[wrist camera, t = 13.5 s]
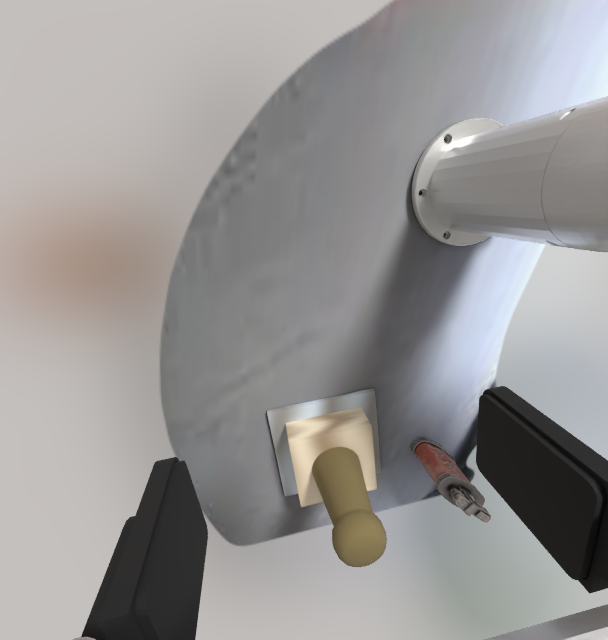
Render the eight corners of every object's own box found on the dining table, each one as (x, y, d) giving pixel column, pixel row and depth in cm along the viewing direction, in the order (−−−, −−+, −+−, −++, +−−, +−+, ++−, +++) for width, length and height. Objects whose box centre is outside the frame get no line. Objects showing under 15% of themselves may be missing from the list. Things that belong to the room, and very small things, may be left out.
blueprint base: (373, 388, 44) (386, 408, 39) (379, 470, 49) (392, 497, 44) (266, 410, 42) (268, 434, 38) (284, 493, 47) (287, 522, 43)
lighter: (405, 449, 48) (443, 508, 39) (421, 432, 47) (464, 489, 38) (441, 472, 51) (484, 533, 41) (457, 457, 50) (504, 515, 41)
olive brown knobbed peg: (355, 485, 43) (389, 575, 32) (309, 487, 42) (328, 581, 31) (363, 446, 41) (401, 528, 31) (314, 447, 40) (337, 533, 29)
